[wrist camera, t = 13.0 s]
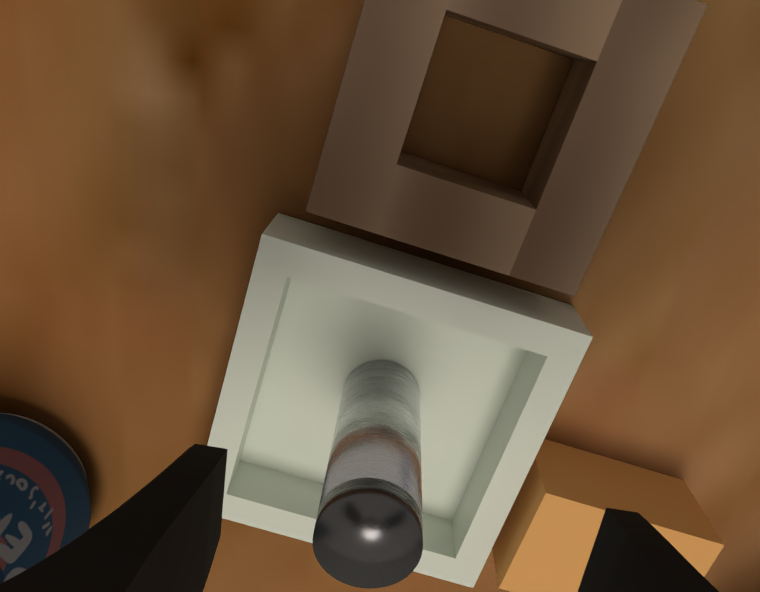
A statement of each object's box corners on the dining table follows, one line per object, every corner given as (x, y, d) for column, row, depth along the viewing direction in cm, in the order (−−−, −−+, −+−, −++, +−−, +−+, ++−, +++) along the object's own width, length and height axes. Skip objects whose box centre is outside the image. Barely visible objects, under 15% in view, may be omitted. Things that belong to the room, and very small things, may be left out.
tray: (572, 305, 22) (592, 337, 19) (467, 537, 25) (473, 588, 23) (278, 212, 21) (261, 233, 19) (211, 464, 24) (190, 509, 22)
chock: (681, 477, 24) (724, 545, 21) (633, 559, 25) (666, 635, 22) (526, 430, 24) (545, 493, 20) (486, 517, 25) (498, 588, 22)
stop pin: (424, 364, 22) (429, 505, 15) (415, 431, 23) (416, 593, 16) (346, 355, 22) (316, 492, 15) (340, 423, 23) (308, 582, 16)
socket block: (670, 9, 18) (707, 4, 16) (556, 268, 21) (574, 296, 19) (396, -87, 18) (394, -108, 15) (316, 192, 21) (305, 211, 18)
